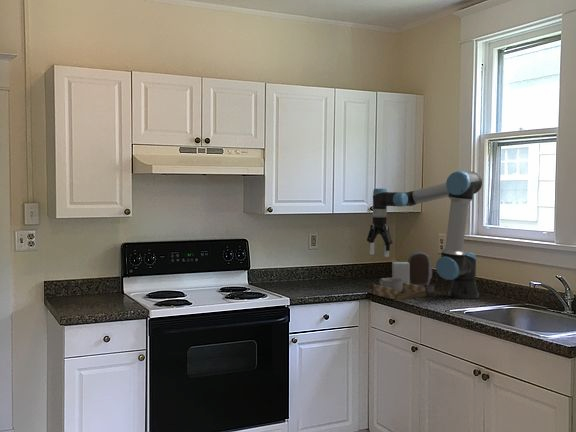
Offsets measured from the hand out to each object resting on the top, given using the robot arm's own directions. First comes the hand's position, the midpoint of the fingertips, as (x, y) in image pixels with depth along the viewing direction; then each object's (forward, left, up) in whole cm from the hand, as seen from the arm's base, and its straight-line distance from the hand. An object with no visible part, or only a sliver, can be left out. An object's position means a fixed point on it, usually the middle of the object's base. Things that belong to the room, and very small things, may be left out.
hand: (379, 255), depth 342 cm
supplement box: (-3, -13, -19) cm, 23 cm away
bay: (-20, -3, -19) cm, 27 cm away
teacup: (-11, +1, -19) cm, 22 cm away
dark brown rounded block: (+3, -32, -19) cm, 37 cm away
